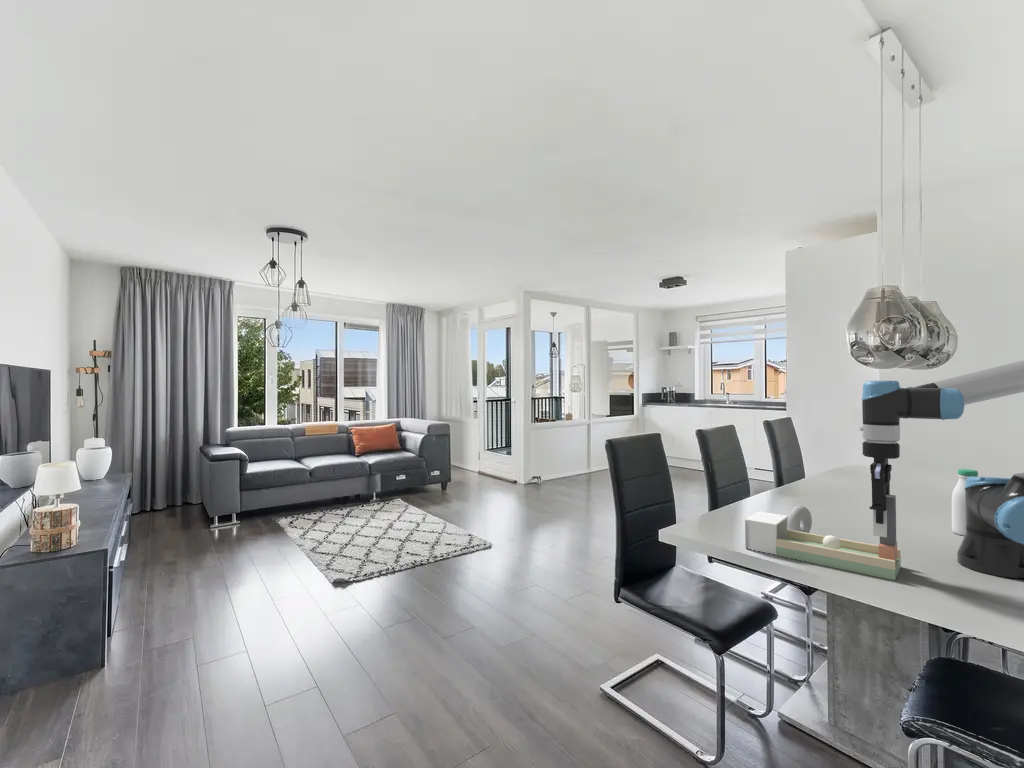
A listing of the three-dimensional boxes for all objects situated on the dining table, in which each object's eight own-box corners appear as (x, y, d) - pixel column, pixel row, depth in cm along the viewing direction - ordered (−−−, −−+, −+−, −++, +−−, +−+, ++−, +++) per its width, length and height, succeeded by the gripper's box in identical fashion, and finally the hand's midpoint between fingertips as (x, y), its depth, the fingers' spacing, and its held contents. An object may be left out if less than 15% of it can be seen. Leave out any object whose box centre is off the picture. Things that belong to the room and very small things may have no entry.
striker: (897, 557, 124) (896, 494, 124) (894, 564, 119) (893, 498, 119) (882, 554, 126) (881, 492, 127) (878, 561, 121) (878, 497, 121)
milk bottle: (956, 536, 151) (955, 471, 151) (948, 529, 157) (947, 467, 157) (990, 539, 147) (989, 472, 147) (980, 532, 154) (979, 468, 154)
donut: (796, 542, 146) (796, 509, 146) (785, 539, 149) (784, 506, 149) (814, 537, 151) (814, 504, 151) (802, 534, 154) (802, 502, 154)
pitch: (900, 566, 126) (900, 533, 126) (895, 580, 117) (894, 544, 117) (758, 539, 149) (758, 511, 149) (745, 548, 141) (745, 519, 141)
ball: (842, 550, 131) (841, 535, 131) (838, 554, 128) (838, 538, 128) (824, 547, 134) (824, 532, 134) (821, 550, 131) (821, 535, 131)
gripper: (867, 437, 132) (868, 524, 132) (857, 443, 121) (857, 538, 121) (903, 439, 127) (903, 530, 127) (895, 445, 115) (896, 545, 115)
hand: (881, 534), depth 124 cm, fingers closed on striker, 3 cm apart
